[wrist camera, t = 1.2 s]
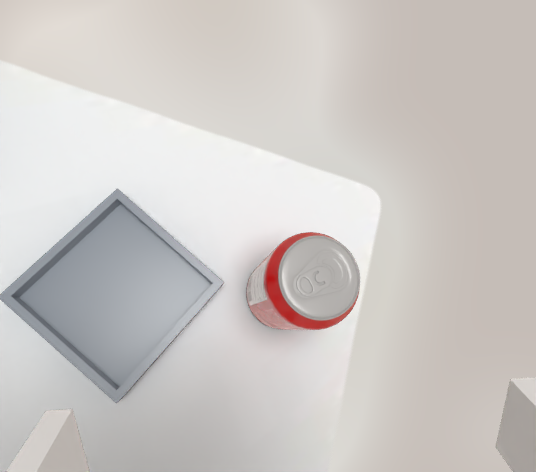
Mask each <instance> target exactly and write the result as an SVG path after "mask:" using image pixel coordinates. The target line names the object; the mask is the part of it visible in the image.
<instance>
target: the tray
mask: <svg viewBox="0 0 536 472" xmlns="http://www.w3.org/2000/svg"><path fill="white" fill-rule="evenodd" d="M223 283H224V282H223V281H222V280H221V279H220V278H218V277H217V276H216V275H215V274H214V273H213V272H212V271H210V270H209V269H208V268H207V267H206V266H205V265H204V264H203V263H201V262H200V261H199V260H198V259H197V258H196V257H195V256H193V255H192V254H191V253H190V252H189V251H188V250H187V249H186V248H184V247H183V246H182V245H181V244H180V243H179V242H178V241H176V240H175V239H174V238H173V237H172V236H171V235H170V234H168V233H167V232H166V231H165V230H164V229H163V228H162V227H161V226H159V225H158V224H157V223H156V222H155V221H154V220H153V219H151V218H150V217H149V216H148V215H147V214H146V213H145V212H144V211H142V210H141V209H140V208H139V207H138V206H137V205H136V204H134V203H133V202H132V201H131V200H130V199H129V198H128V197H126V196H125V195H124V194H123V193H122V192H121V191H120V190H119V189H116V190H115V191H114V192H113V193H112V194H111V195H110V196H109V197H107V198H106V199H105V200H104V201H103V202H102V203H101V204H100V205H99V206H97V207H96V208H95V209H94V210H93V211H92V212H91V213H90V214H89V215H88V216H86V217H85V218H84V219H83V220H82V221H81V222H80V223H79V224H78V225H76V226H75V227H74V228H73V229H72V230H71V231H70V232H69V233H68V234H66V235H65V236H64V237H63V238H62V239H61V240H60V241H59V242H58V243H57V244H55V245H54V246H53V247H52V248H51V249H50V250H49V251H48V252H47V253H45V254H44V255H43V256H42V257H41V258H40V259H39V260H38V261H37V262H36V263H34V264H33V265H32V266H31V267H30V268H29V269H28V270H27V271H26V272H24V273H23V274H22V275H21V276H20V277H19V278H18V279H17V280H16V281H15V282H13V283H12V284H11V285H10V286H9V287H8V288H7V289H6V290H5V291H3V292H2V293H1V294H0V300H2V301H3V302H4V303H5V304H6V305H7V306H8V307H9V308H10V309H12V310H13V311H14V312H15V313H16V314H17V315H18V316H19V317H21V318H22V319H23V320H24V321H25V322H26V323H27V324H28V325H29V326H31V327H32V328H33V329H34V330H35V331H36V332H37V333H38V334H40V335H41V336H42V337H43V338H44V339H45V340H46V341H47V342H48V343H50V344H51V345H52V346H53V347H54V348H55V349H56V350H57V351H59V352H60V353H61V354H62V355H63V356H64V357H65V358H66V359H67V360H69V361H70V362H71V363H72V364H73V365H74V366H75V367H76V368H78V369H79V370H80V371H81V372H82V373H83V374H84V375H85V376H86V377H88V378H89V379H90V380H91V381H92V382H93V383H94V384H95V385H97V386H98V387H99V388H100V389H101V390H102V391H103V392H104V393H105V394H107V395H108V396H109V397H110V398H111V399H112V400H113V401H114V402H116V403H117V402H118V401H119V400H121V399H122V397H123V396H124V395H125V394H126V393H127V392H128V391H129V390H130V388H131V387H132V386H133V385H134V384H135V383H136V382H137V381H138V379H139V378H140V377H141V376H142V375H143V374H144V373H145V372H146V370H147V369H148V368H149V367H150V366H151V365H152V364H153V363H154V361H155V360H156V359H157V358H158V357H159V356H160V355H161V354H162V352H163V351H164V350H165V349H166V348H167V347H168V346H169V345H170V343H171V342H172V341H173V340H174V339H175V338H176V337H177V336H178V334H179V333H180V332H181V331H182V330H183V329H184V328H185V327H186V325H187V324H188V323H189V322H190V321H191V320H192V319H193V317H194V316H195V315H196V314H197V313H198V312H199V311H200V310H201V308H202V307H203V306H204V305H205V304H206V303H207V302H208V301H209V299H210V298H211V297H212V296H213V295H214V294H215V293H216V292H217V290H218V289H219V288H220V287H221V286H222V285H223Z"/></svg>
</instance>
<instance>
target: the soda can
mask: <svg viewBox="0 0 536 472" xmlns="http://www.w3.org/2000/svg"><path fill="white" fill-rule="evenodd" d="M359 288H360V273H359V269H358V265H357V263H356V261H355V259H354V257H353V255H352V254H351V253H350V251H349V250H348V249H347V248H346V247H345V246H344V245H342V244H341V243H340V242H338V241H337V240H335V239H334V238H332V237H330V236H327V235H324V234H320V233H313V232H308V233H301V234H297V235H294V236H292V237H290V238H288V239H286V240H285V241H283V242H282V243H281V244H280V245H279V246H277V247H276V248H275V249H274V251H273V252H272V253H271V254H270V255H269V256H268V257H267V258H266V259H265V260H264V261H263V262H262V263H261V264H260V265H259V266H258V267H257V268H256V269H255V270H254V271H253V273H252V274H251V276H250V278H249V281H248V284H247V291H246V295H247V302H248V305H249V307H250V310H251V311H252V313H253V314H254V316H255V317H256V318H257V319H258V320H259V321H260V322H262V323H263V324H265V325H267V326H269V327H271V328H275V329H292V330H319V329H325V328H328V327H331V326H333V325H335V324H337V323H339V322H340V321H342V320H343V319H344V318H345V317H346V316H347V315H348V314H349V313H350V312H351V310H352V309H353V307H354V305H355V303H356V301H357V298H358V294H359Z"/></svg>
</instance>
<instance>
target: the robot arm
mask: <svg viewBox="0 0 536 472" xmlns="http://www.w3.org/2000/svg"><path fill="white" fill-rule="evenodd" d="M496 449H497V450H498V451H499V453H500V454H501V455H502V457H503V459H504V460H505V461H506V463H507V464H508V466H509V467H510V468H511V470H512V471H513V472H536V378H519V379H510V382H509V387H508V392H507V397H506V401H505V405H504V410H503V415H502V419H501V424H500V428H499V433H498V438H497V442H496ZM6 472H90V471H89V467H88V464H87V460H86V456H85V453H84V449H83V445H82V442H81V438H80V435H79V431H78V427H77V424H76V420H75V417H74V413H73V409H64V410H49V411H45V413H44V414H43V416H42V417H41V419H40V420H39V422H38V423H37V425H36V427H35V428H34V430H33V431H32V433H31V434H30V436H29V437H28V439H27V440H26V442H25V443H24V445H23V446H22V448H21V449H20V451H19V452H18V454H17V456H16V457H15V459H14V460H13V462H12V463H11V465H10V466H9V468H8V469H7V471H6Z"/></svg>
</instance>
